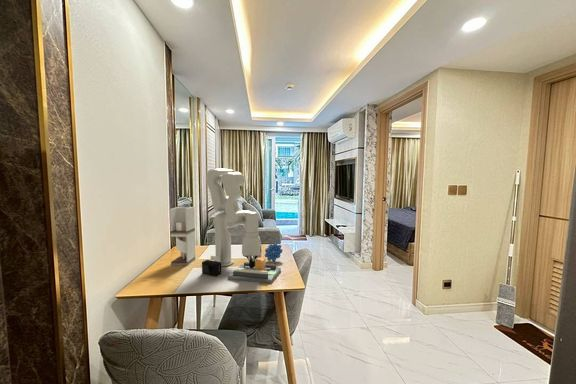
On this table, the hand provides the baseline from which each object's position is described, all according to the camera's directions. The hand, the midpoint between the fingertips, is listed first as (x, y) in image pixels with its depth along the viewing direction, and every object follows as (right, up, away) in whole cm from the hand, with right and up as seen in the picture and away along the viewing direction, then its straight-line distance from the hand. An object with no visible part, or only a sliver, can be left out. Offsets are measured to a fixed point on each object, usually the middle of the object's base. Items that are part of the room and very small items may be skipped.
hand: (252, 267), depth 141 cm
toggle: (+5, -2, -1) cm, 5 cm away
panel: (+2, -4, 0) cm, 5 cm away
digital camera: (-23, -5, +1) cm, 24 cm away
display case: (-47, -4, +23) cm, 52 cm away
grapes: (+10, -3, +25) cm, 28 cm away
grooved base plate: (+2, -2, 0) cm, 3 cm away
